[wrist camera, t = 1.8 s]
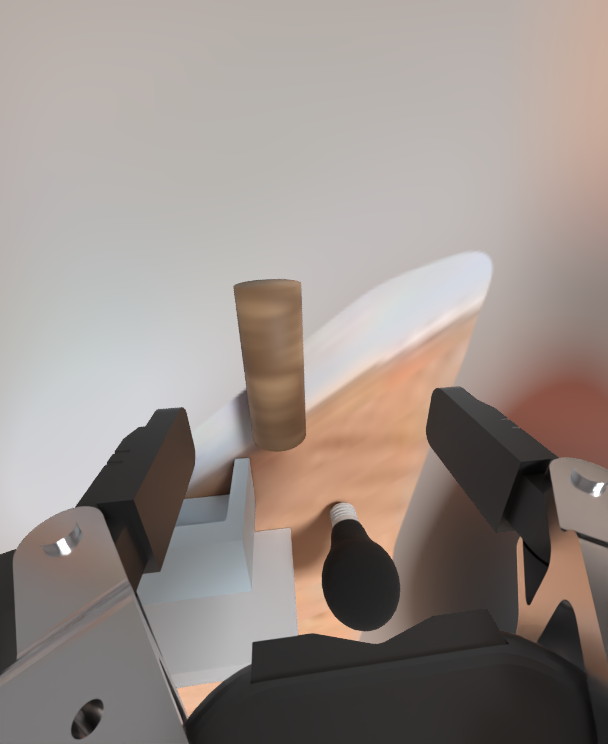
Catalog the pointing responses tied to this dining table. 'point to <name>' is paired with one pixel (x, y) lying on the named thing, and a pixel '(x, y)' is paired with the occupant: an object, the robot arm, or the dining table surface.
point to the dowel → (273, 360)
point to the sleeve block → (208, 546)
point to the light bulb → (358, 574)
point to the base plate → (229, 618)
